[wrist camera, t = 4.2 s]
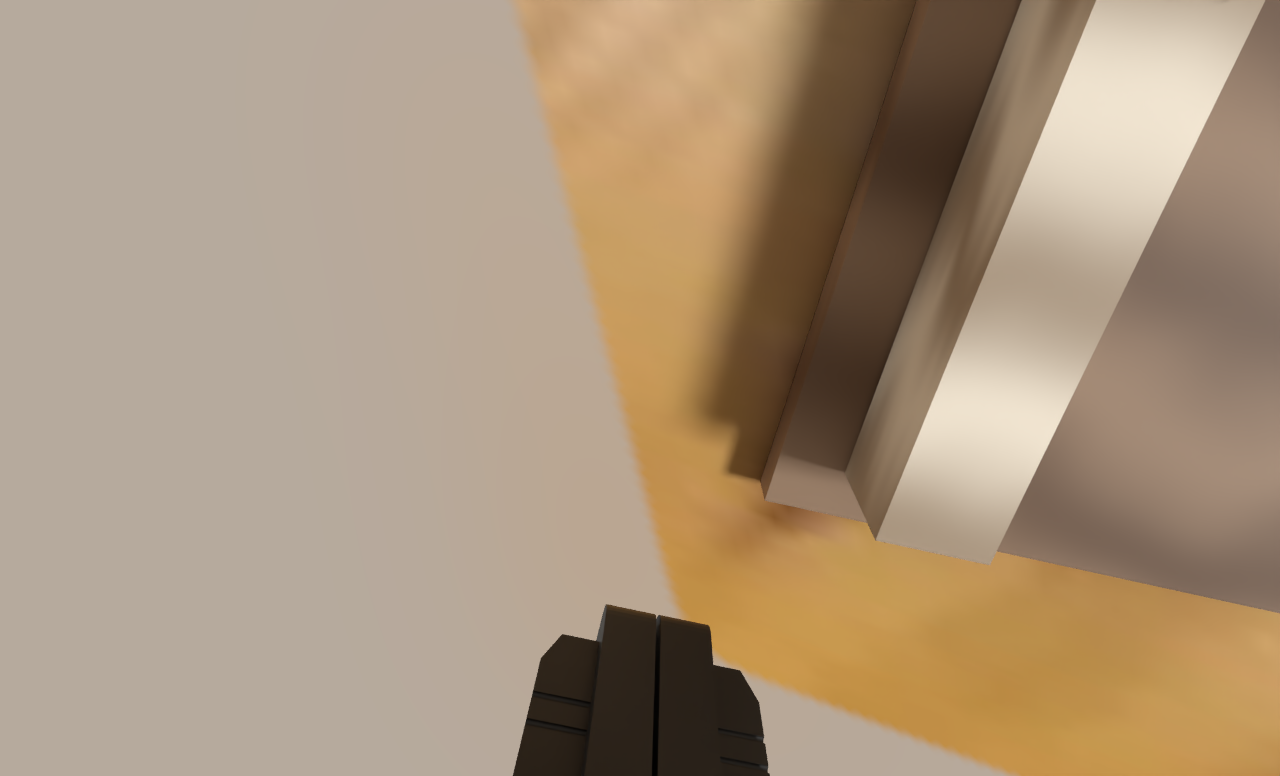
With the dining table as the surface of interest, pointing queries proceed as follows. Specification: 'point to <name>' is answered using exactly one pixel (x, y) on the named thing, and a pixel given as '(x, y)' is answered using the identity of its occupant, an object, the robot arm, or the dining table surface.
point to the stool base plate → (1125, 355)
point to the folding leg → (1034, 256)
